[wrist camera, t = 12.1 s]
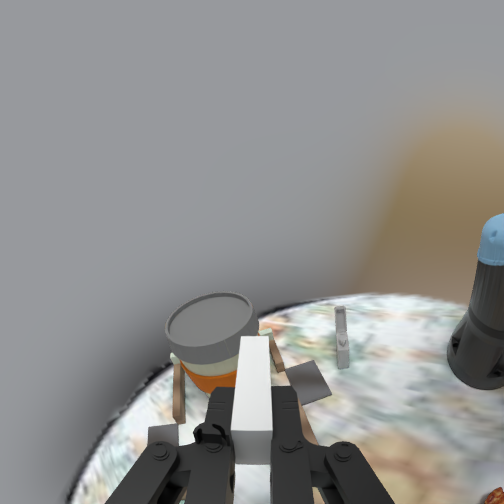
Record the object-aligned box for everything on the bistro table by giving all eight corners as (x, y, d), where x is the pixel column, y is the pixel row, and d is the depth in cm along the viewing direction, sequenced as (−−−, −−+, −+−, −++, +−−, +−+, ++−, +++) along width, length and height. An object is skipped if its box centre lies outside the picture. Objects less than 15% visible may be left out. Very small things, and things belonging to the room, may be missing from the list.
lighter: (348, 368, 40) (349, 331, 37) (338, 369, 40) (337, 332, 37) (345, 339, 46) (344, 302, 43) (335, 340, 46) (334, 304, 43)
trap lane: (364, 454, 25) (366, 447, 24) (147, 500, 22) (138, 495, 22) (300, 336, 50) (298, 327, 49) (154, 373, 47) (149, 365, 46)
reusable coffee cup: (224, 354, 49) (200, 286, 44) (286, 369, 43) (271, 295, 37) (183, 402, 40) (144, 334, 34) (249, 429, 33) (219, 359, 27)
